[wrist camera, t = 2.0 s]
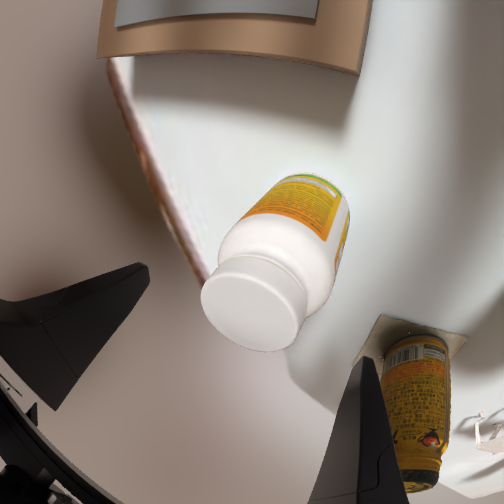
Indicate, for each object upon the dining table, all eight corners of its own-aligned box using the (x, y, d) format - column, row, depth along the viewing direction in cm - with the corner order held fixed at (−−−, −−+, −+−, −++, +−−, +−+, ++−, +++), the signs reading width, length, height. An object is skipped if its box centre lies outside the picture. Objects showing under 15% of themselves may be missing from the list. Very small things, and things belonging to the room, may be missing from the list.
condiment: (428, 383, 21) (413, 498, 12) (352, 364, 23) (315, 485, 14) (468, 335, 17) (472, 476, 8) (380, 311, 19) (351, 466, 10)
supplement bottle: (255, 189, 18) (160, 273, 11) (328, 157, 15) (272, 236, 8) (291, 256, 20) (229, 364, 13) (363, 236, 17) (338, 360, 10)
